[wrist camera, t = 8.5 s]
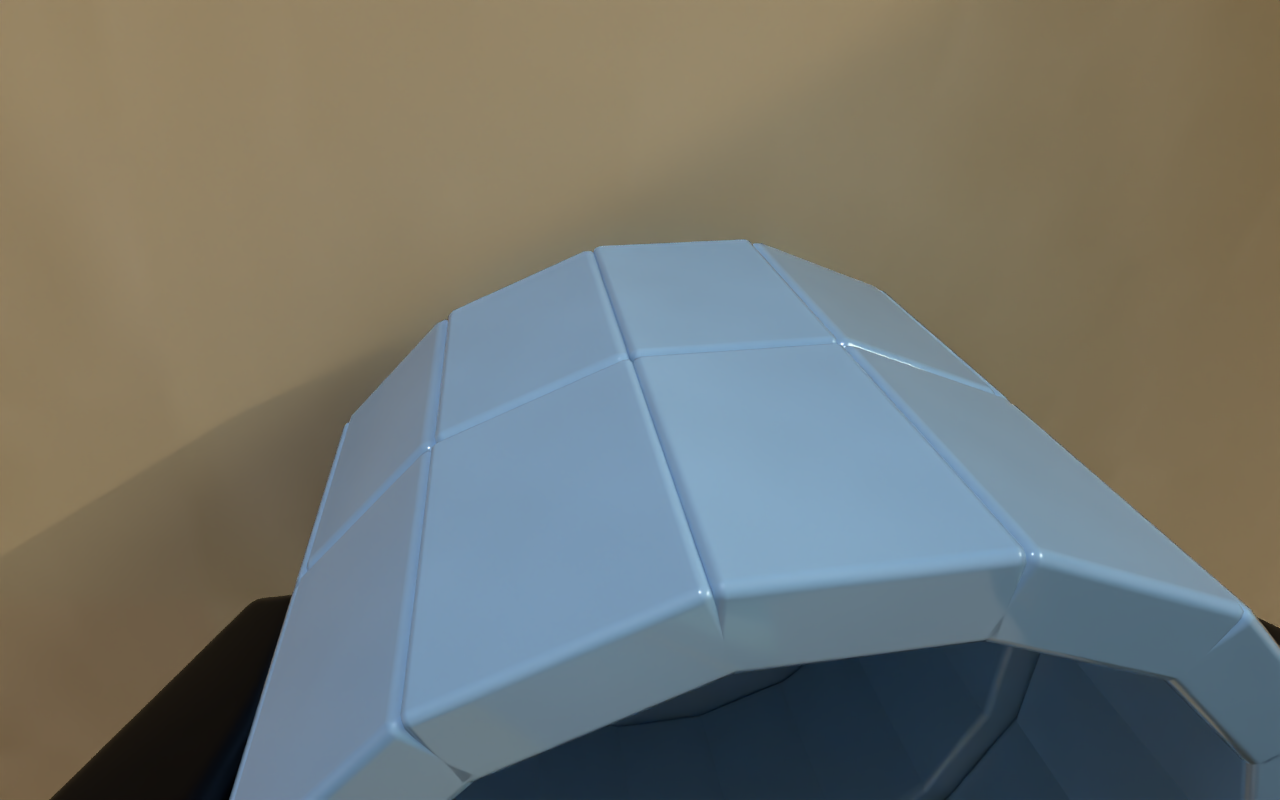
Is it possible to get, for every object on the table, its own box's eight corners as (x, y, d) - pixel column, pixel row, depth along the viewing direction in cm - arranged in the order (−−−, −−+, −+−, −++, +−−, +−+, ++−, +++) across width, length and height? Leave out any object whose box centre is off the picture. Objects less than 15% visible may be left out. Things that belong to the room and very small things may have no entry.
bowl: (384, 763, 10) (315, 1304, 6) (260, 240, 6) (-93, 681, 3) (892, 693, 11) (1123, 1118, 7) (1008, 207, 7) (1584, 492, 3)
